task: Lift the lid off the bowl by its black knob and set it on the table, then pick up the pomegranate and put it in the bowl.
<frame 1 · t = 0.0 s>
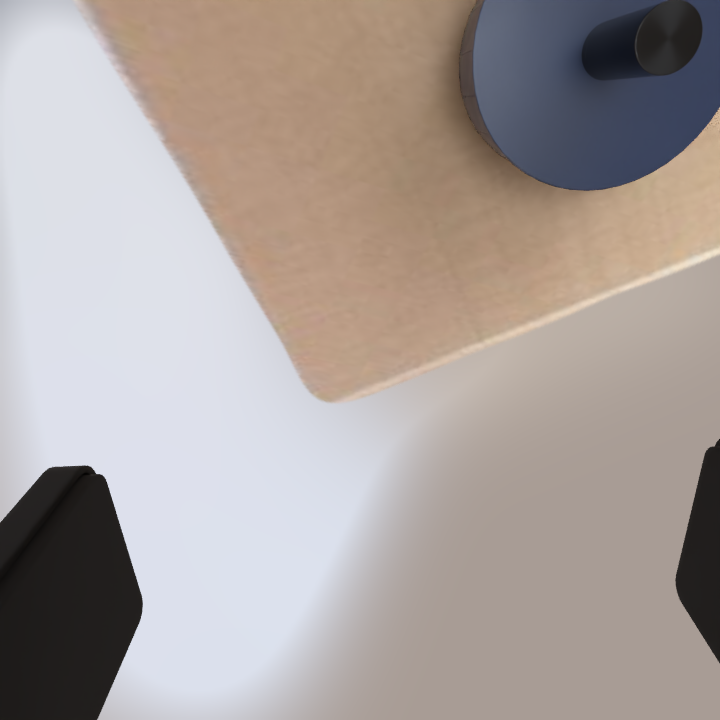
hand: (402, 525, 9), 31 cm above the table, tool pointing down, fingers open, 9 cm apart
lid: (604, 51, 28), point 6 cm above the table, touching bowl
bowl: (562, 60, 34), on the table
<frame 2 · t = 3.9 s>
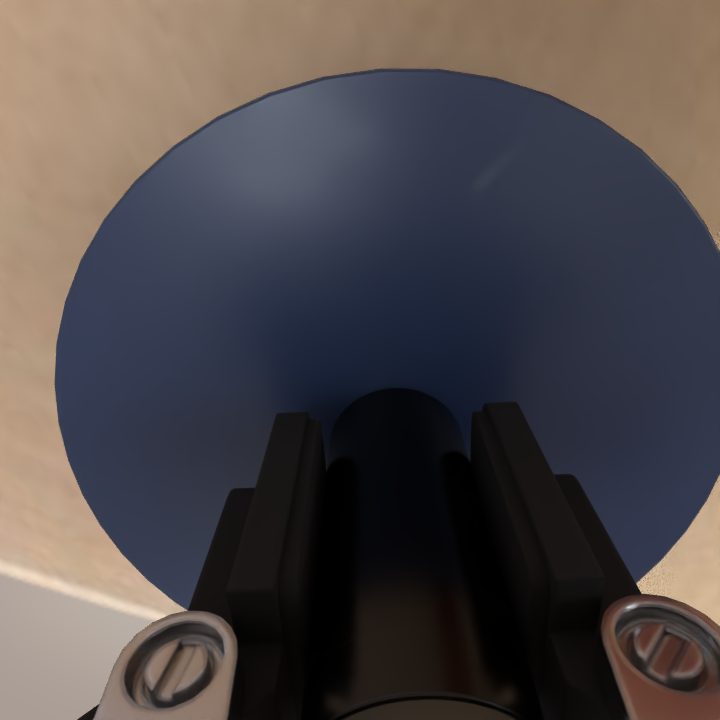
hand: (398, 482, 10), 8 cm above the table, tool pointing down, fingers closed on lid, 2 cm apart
lid: (394, 431, 11), point 7 cm above the table, touching gripper, bowl
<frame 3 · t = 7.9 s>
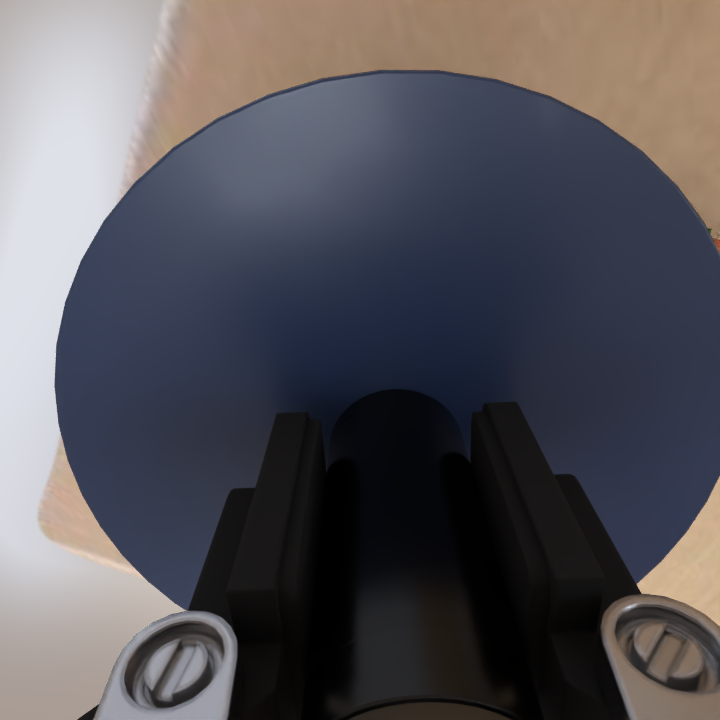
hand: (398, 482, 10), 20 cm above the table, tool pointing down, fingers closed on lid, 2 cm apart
lid: (394, 432, 11), point 19 cm above the table, touching gripper
when the fingers open (2 cm above the table, at t = 11.9 s): lid stays where it is, point 1 cm above the table.
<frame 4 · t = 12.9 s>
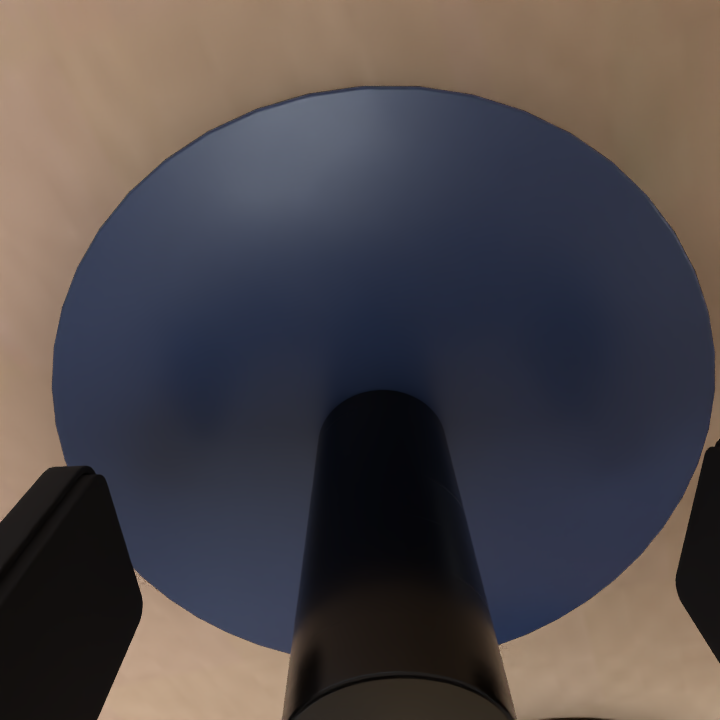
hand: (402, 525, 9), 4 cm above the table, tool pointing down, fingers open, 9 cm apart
lid: (381, 432, 12), point 1 cm above the table
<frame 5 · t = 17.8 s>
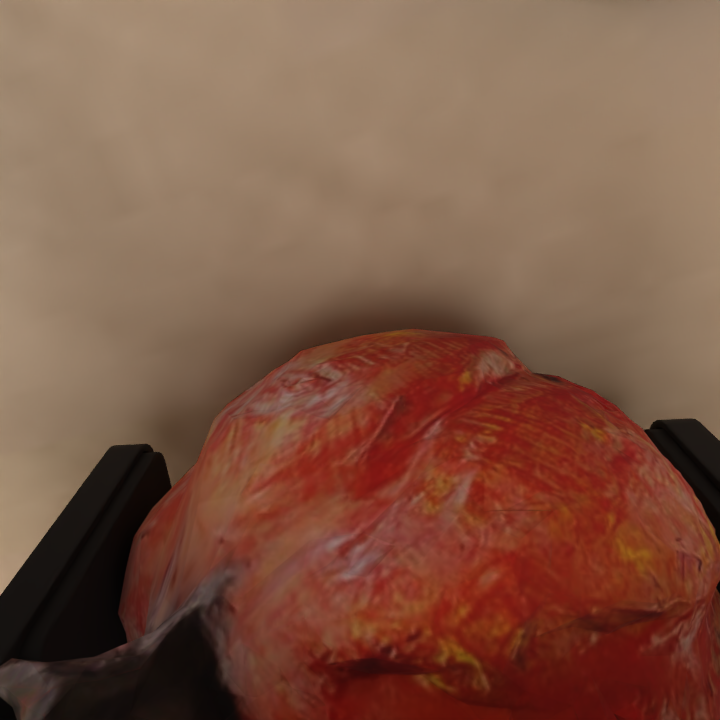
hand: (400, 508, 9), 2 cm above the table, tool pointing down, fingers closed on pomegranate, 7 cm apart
pomegranate: (405, 452, 11), on the table, touching gripper
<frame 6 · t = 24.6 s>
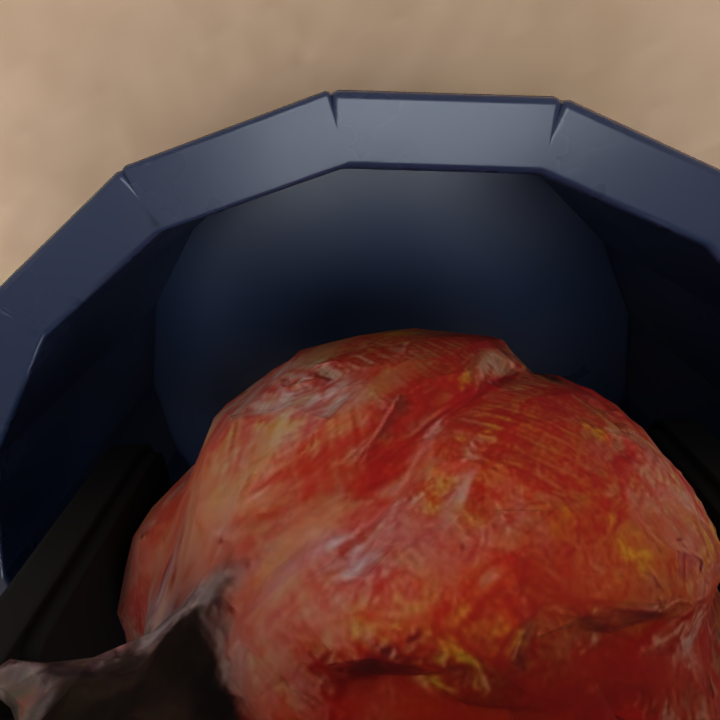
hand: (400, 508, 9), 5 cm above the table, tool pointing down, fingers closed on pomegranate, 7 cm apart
pomegranate: (405, 452, 11), point 3 cm above the table, touching gripper
bowl: (388, 377, 14), on the table
when the fingers open (7 cm above the table, at t = 45.6 s): pomegranate drops 5 cm, resting on bowl.
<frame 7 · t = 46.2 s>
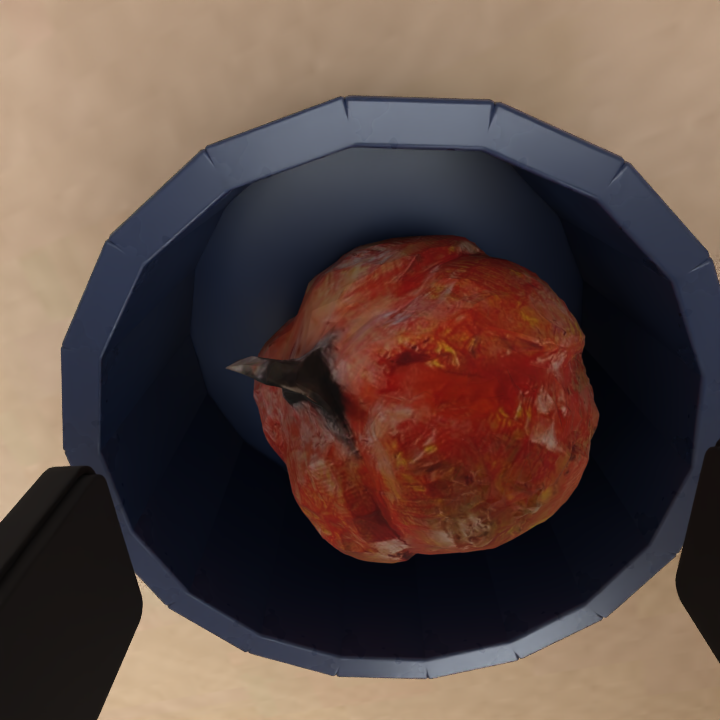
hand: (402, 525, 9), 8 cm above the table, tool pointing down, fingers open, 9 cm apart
pomegranate: (413, 338, 16), resting on bowl
bowl: (385, 331, 16), on the table
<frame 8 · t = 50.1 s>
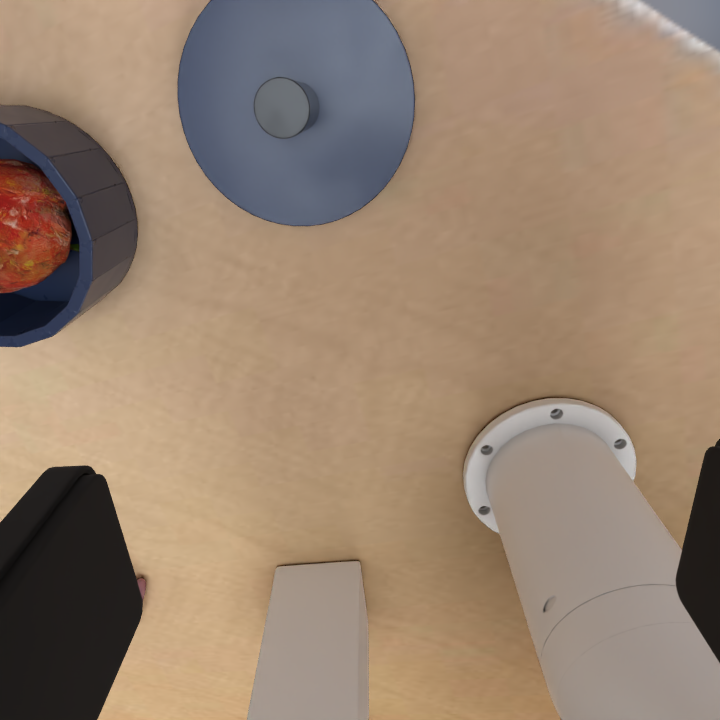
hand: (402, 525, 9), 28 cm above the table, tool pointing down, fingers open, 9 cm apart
pomegranate: (48, 217, 35), resting on bowl
lid: (297, 107, 32), point 1 cm above the table
bowl: (37, 214, 35), on the table
milk carton: (323, 591, 48), on the table
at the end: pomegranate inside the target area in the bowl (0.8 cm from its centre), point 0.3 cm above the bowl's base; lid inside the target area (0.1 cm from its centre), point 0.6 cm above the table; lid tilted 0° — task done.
